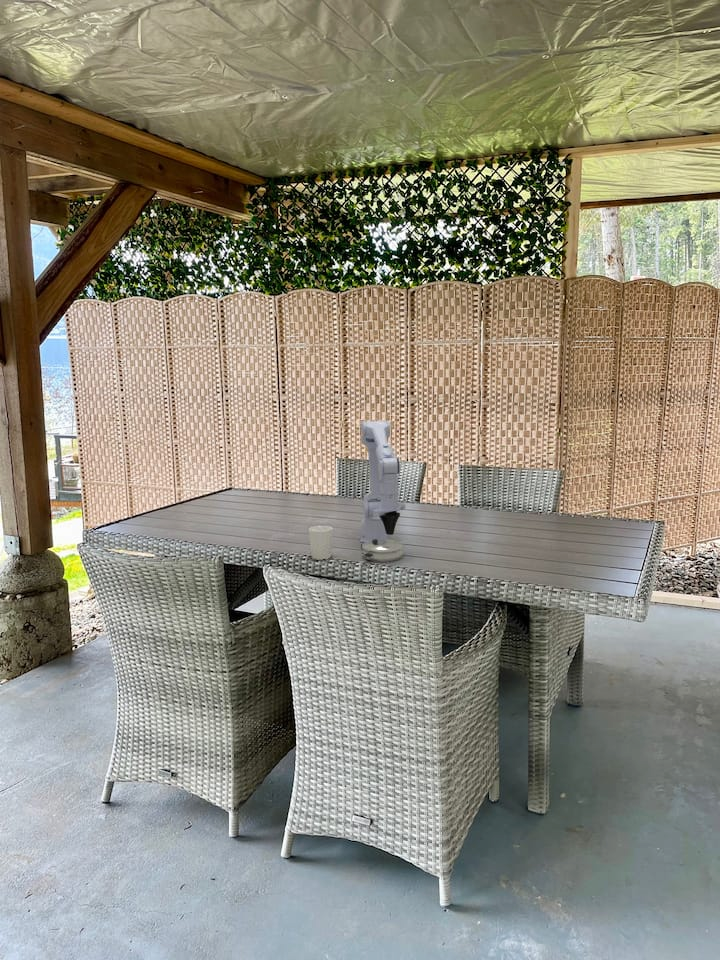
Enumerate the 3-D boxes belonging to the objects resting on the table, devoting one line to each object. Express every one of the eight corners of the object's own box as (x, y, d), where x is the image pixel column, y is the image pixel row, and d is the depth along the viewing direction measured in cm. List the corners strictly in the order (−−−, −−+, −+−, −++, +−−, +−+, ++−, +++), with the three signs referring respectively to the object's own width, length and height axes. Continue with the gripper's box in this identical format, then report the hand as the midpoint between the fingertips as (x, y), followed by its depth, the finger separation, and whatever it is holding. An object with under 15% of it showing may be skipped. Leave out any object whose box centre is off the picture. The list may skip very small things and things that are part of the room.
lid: (354, 548, 231) (353, 542, 230) (380, 540, 241) (379, 534, 240) (385, 554, 222) (385, 548, 221) (411, 546, 232) (410, 539, 231)
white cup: (338, 556, 233) (337, 527, 231) (321, 561, 227) (320, 532, 226) (321, 552, 238) (320, 524, 237) (305, 557, 232) (304, 529, 231)
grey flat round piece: (348, 557, 231) (348, 548, 231) (379, 547, 243) (378, 539, 243) (382, 565, 222) (382, 556, 221) (412, 554, 233) (412, 545, 233)
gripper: (384, 498, 218) (385, 540, 220) (412, 491, 229) (412, 531, 231) (367, 496, 223) (368, 537, 225) (395, 489, 233) (396, 528, 236)
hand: (389, 534), depth 228 cm, fingers closed
